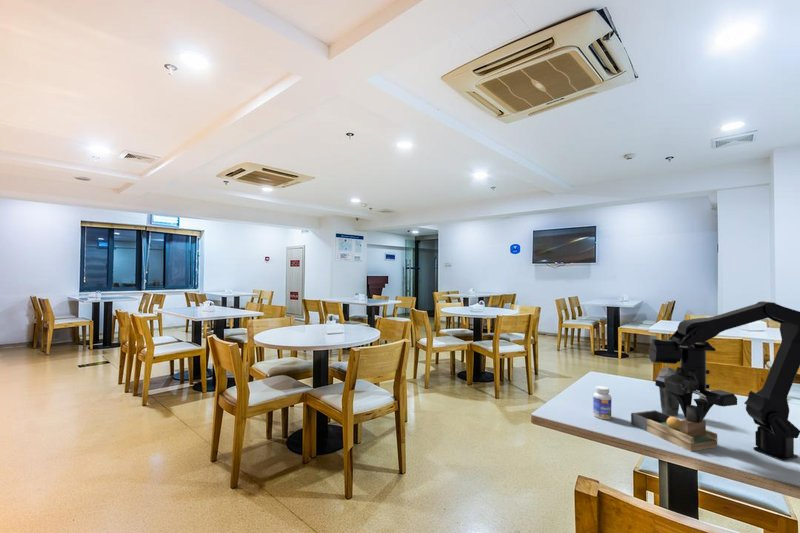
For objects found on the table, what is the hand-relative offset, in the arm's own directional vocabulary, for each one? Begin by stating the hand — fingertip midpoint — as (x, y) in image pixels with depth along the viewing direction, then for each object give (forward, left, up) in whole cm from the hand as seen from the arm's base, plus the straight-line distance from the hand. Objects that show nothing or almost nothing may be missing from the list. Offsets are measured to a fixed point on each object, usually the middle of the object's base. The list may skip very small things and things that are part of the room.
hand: (693, 420), depth 105 cm
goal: (+13, 0, -7) cm, 14 cm away
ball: (+6, 0, -5) cm, 7 cm away
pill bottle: (+23, +9, -7) cm, 26 cm away
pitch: (+4, 0, -7) cm, 8 cm away
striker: (0, 0, -5) cm, 5 cm away
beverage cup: (+19, -16, -7) cm, 26 cm away
